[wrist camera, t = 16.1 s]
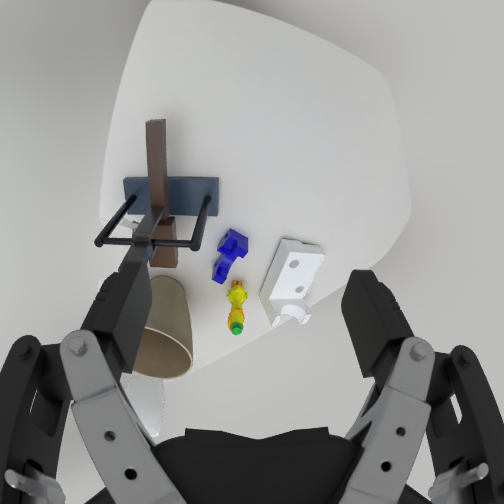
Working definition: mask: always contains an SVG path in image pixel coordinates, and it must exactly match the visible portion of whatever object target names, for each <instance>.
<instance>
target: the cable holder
mask: <svg viewBox="0 0 504 504" xmlns="http://www.w3.org/2000/svg"><path fill="white" fill-rule="evenodd" d="M217 251H219V252H221V253H222V255H221V256H220V257H219V259H218V260H217V261H216V263H215V264H214V266H213V274H212V280H214V281H216V282H218V283H220V284H223V283H224V281H225V280H226V279H227V274H228V271H229V269H230V267H231V265H232V263H233V262H234V260H235V259H236V258H237V257H238V256H239V257H241V258H244V256H245V255H246V254H247V253H248V238H246V237H245V236H243V235H241V234H239V233H237V232H236V231H234V230H232V229H229V230H228V232H227V233H226V235H225V236H224V237H223V239H222V240H221V242H220V243H219V244H218V247H217Z"/></svg>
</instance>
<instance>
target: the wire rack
mask: <svg viewBox="0 0 504 504" xmlns="http://www.w3.org/2000/svg"><path fill="white" fill-rule="evenodd" d="M123 183H124V192H125V200H126V202H125V203H124V204H123V205H122V206H121V208H120V209H119V210H118V211H117V212H116V214H115V215H114V216H113V217H112V219H111V220H110V221H109V222H108V224H107V225H106V226H105V227H104V229H103V230H102V231H101V233H100V234H99V235H98V237H97V238H96V239H95V241H94V243H95V245H96V246H97V247H102V246H103V244H113V245H132V243H133V238H108V237H109V236H110V234H111V233H112V232H113V230H114V229H115V227H116V226H117V225H118V223H119V222H120V221H121V219H122V218H123V217H124V215H125V214H126V213H127V214H137V215H146V213H147V212H148V210H149V208H150V207H151V202H150V191H149V179H148V177H136V178H125V179H124V180H123ZM218 184H219V178H210V177H167V185H168V201H169V215H189V216H198V218H197V222H196V225H195V228H194V232H193V235H192V238H191V240H165V239H151V240H152V246H163V247H187V248H190V249H191V250H192V251H198V250H199V249H200V246H201V241H202V237H203V233H204V229H205V224H206V220H207V216H218Z"/></svg>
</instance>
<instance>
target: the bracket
mask: <svg viewBox="0 0 504 504" xmlns="http://www.w3.org/2000/svg"><path fill="white" fill-rule="evenodd" d="M325 255H326V254H325V253H324V251H323V250H322V249H321V247H320V246H318V245H308V244H302V243H301V241H297V240H287V239H282V240H281V243H280V245H279V248H278V250H277V253H276V255H275V258H274V260H273V262H272V265H271V267H270V270H269V272H268V275H267V277H266V279H265V282H264V284H263V287H262V289H261V291H260V294H259V297H260V300H261V302H262V304H263V307H264V309H265V312H266V314H267V316H268V319H269V321H270V323H271V326H276V325H277V324H278V322H279V320H280V318H281V315H282V314H288V315H291V316H294V317H295V318H297V319H298V320H299V321H300V323H301V324H306V322H307V321H308V319H309V317H310V316H311V313H310V311H309V309H308V307H307V305H306V304H305V302H304V300H303V297H304V295H305V294H306V292H307V290H308V288H309V286H310V284H311V282H312V280H313V279H314V277H315V275H316V273H317V271H318V269H319V267H320V265H321V263H322V261H323V259H324V257H325Z"/></svg>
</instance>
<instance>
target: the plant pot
mask: <svg viewBox="0 0 504 504" xmlns="http://www.w3.org/2000/svg"><path fill="white" fill-rule="evenodd" d="M150 284H151V289H152V306H151V309H150V312H149V315H148V319H147V322H146V325H145V328H144V332H143V335H142V338H141V342H140V345H139V349H138V352H137V356H136V360H135V363H134V367H133V372H135V373H138V374H140V375H143V376H147V377H151V378H157V379H173V378H178V377H181V376H183V375H185V374H187V373H188V372H189V371H190V370H191V368H192V366H193V344H192V329H191V321H190V314H189V309H188V304H187V300H186V296H185V292H184V289H183V287H182V286H181V284H180V283H179V282H178V281H176V280H175V279H173V278H170V277H166V276H158V277H155V278H153V279H152V280H151V281H150Z"/></svg>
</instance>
